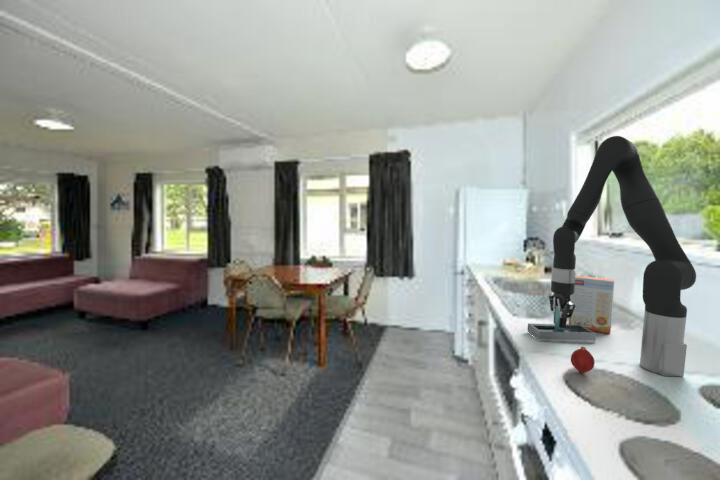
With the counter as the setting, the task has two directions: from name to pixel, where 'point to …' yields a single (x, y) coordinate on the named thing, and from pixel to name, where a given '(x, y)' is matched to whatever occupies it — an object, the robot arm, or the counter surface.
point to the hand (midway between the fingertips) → (559, 325)
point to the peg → (557, 320)
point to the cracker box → (592, 303)
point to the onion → (582, 360)
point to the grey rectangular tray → (562, 333)
